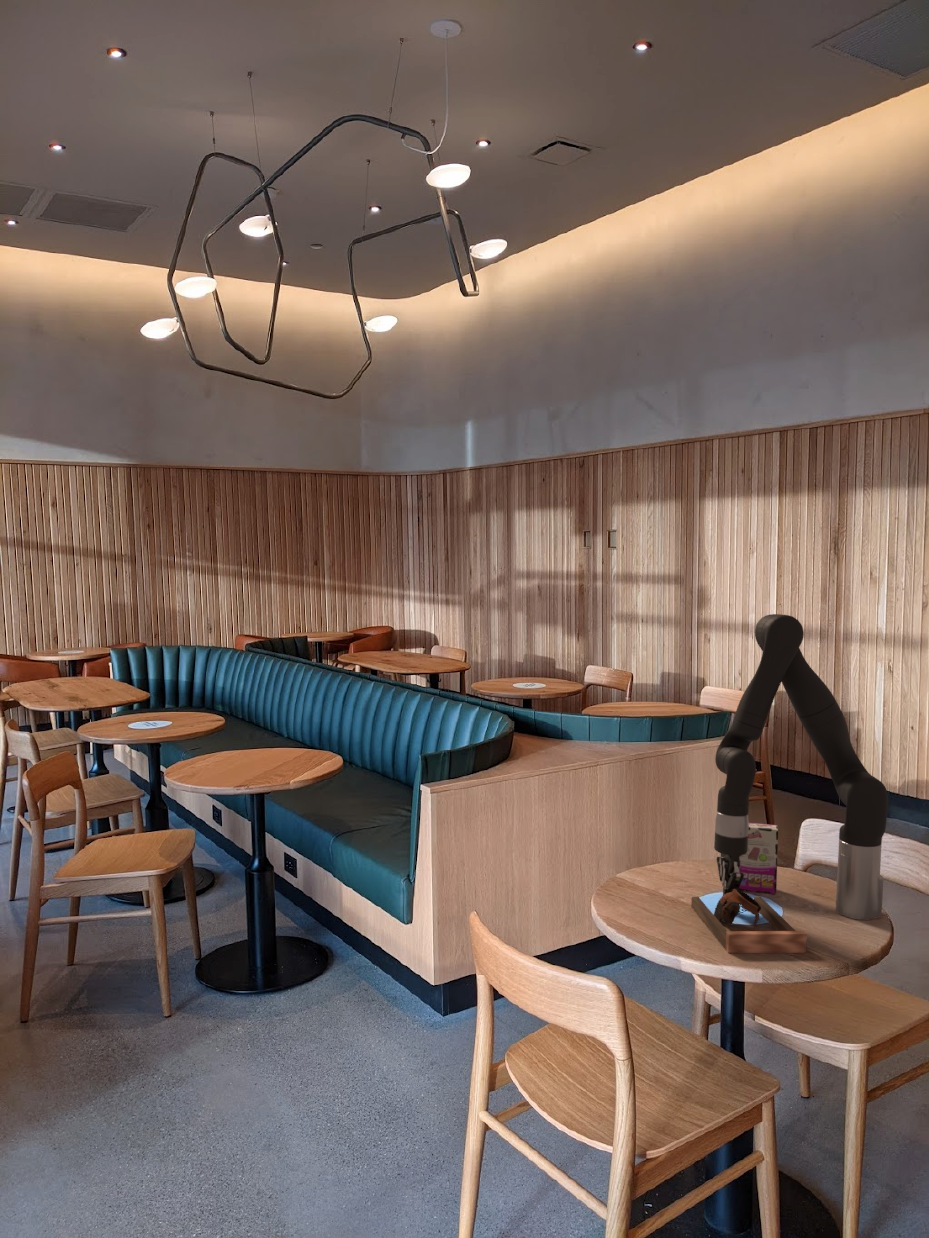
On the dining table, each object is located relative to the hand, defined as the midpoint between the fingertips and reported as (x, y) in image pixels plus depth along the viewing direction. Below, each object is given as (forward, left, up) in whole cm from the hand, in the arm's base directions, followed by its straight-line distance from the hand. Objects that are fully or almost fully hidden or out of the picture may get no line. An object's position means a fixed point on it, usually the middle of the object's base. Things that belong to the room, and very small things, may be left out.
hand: (727, 903), depth 222 cm
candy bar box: (-11, -14, -2) cm, 18 cm away
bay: (0, +10, -2) cm, 10 cm away
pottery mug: (+1, +8, -2) cm, 8 cm away
